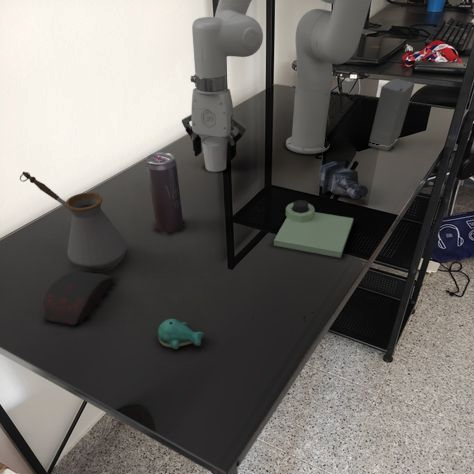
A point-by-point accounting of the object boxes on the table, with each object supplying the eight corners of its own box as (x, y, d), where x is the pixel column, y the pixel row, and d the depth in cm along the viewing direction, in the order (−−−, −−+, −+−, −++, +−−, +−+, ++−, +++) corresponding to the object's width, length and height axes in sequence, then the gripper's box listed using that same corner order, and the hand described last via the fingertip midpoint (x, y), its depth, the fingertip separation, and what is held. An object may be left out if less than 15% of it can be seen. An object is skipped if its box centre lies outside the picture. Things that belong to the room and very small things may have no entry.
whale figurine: (167, 325, 73) (164, 308, 70) (208, 332, 72) (206, 315, 69) (153, 349, 69) (150, 332, 66) (197, 357, 68) (195, 340, 65)
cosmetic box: (378, 137, 130) (391, 77, 118) (401, 142, 127) (416, 81, 115) (366, 146, 125) (378, 84, 114) (390, 152, 122) (405, 89, 111)
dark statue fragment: (358, 209, 100) (363, 182, 95) (313, 190, 106) (317, 164, 102) (374, 200, 103) (380, 173, 98) (330, 182, 109) (334, 156, 105)
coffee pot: (141, 255, 88) (126, 183, 77) (102, 284, 81) (79, 211, 70) (67, 228, 96) (44, 159, 85) (26, 253, 89) (-5, 182, 78)
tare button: (295, 205, 96) (295, 198, 95) (309, 207, 95) (309, 201, 94) (291, 212, 94) (291, 205, 93) (305, 214, 93) (306, 208, 92)
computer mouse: (41, 320, 74) (32, 302, 71) (80, 274, 83) (74, 256, 81) (82, 327, 73) (76, 309, 70) (118, 280, 82) (113, 262, 79)
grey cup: (225, 173, 114) (224, 146, 109) (200, 171, 115) (198, 144, 110) (231, 163, 119) (230, 136, 113) (206, 161, 120) (205, 134, 115)
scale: (289, 212, 99) (290, 200, 97) (353, 222, 95) (355, 210, 93) (271, 245, 90) (271, 232, 87) (340, 258, 86) (343, 245, 84)
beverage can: (172, 216, 98) (163, 149, 88) (188, 226, 95) (181, 157, 85) (151, 226, 96) (139, 158, 85) (167, 236, 93) (157, 166, 82)
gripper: (171, 84, 102) (179, 157, 114) (240, 91, 98) (240, 166, 110) (185, 76, 107) (191, 147, 119) (251, 82, 103) (250, 155, 115)
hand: (214, 156), depth 115 cm, fingers open, 9 cm apart
